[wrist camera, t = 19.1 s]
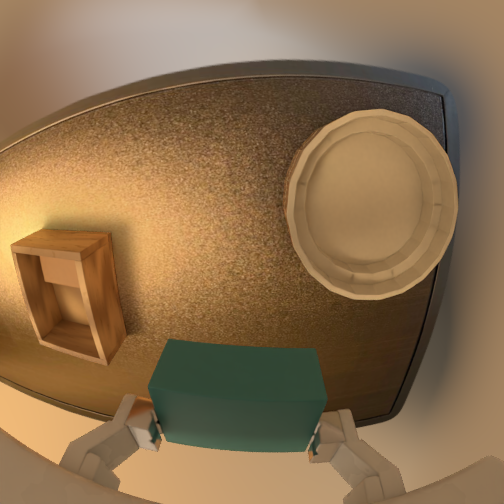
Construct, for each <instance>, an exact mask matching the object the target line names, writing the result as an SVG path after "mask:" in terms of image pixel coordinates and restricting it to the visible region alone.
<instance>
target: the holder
mask: <svg viewBox="0 0 504 504" xmlns="http://www.w3.org/2000/svg"><path fill="white" fill-rule="evenodd" d="M10 246H11V251H12V256H13V260H14V265H15V269H16V273H17V277H18V281H19V284H20V288H21V291H22V295H23V298H24V301H25V304H26V307H27V310H28V313H29V316H30V319H31V322H32V324H33V327H34V330H35V332H36V335H37V337H38V340H39V342H40V344H42V345H44V346H47V347H50V348H52V349H55V350H58V351H61V352H64V353H67V354H70V355H73V356H76V357H79V358H82V359H85V360H89V361H92V362H96V363H99V364H103V365H107V366H108V365H109V364H110V362H111V360H112V359H113V357H114V356H115V354H116V352H117V351H118V349H119V348H120V346H121V344H122V343H123V341H124V340H125V338H126V336H127V333H126V328H125V324H124V319H123V314H122V309H121V304H120V298H119V293H118V287H117V280H116V274H115V266H114V259H113V250H112V241H111V233H107V232H89V231H69V230H49V229H41V230H39V231H37V232H35V233H33V234H31V235H29V236H27V237H25V238H23V239H21V240H19V241H17V242H15V243H13V244H11V245H10ZM40 256H45V257H52V258H60V259H68V260H75V265H76V270H77V275H78V280H79V285H80V288H76V287H70V286H65V285H60V284H55V283H50V282H45V279H44V275H43V271H42V266H41V261H40Z"/></svg>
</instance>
